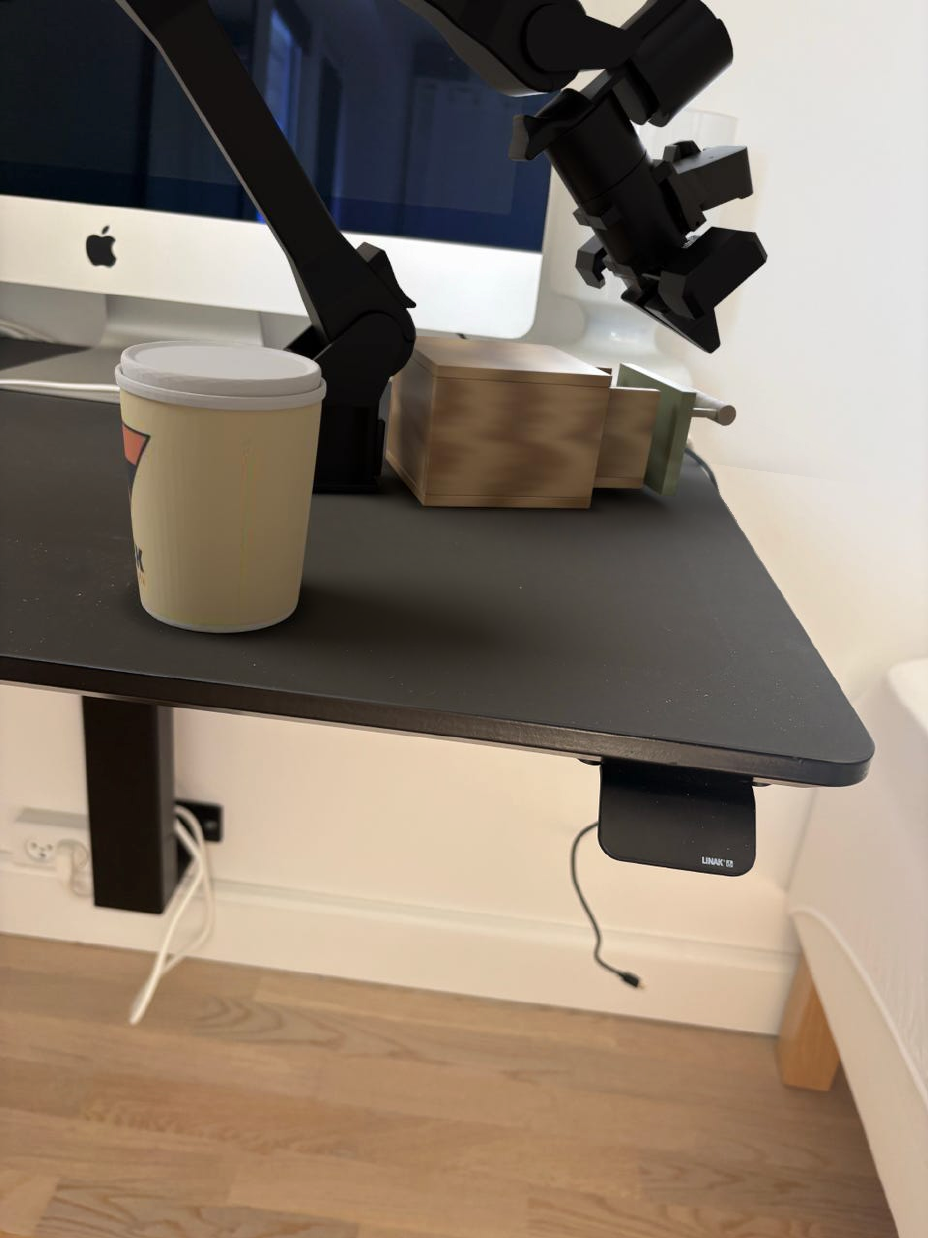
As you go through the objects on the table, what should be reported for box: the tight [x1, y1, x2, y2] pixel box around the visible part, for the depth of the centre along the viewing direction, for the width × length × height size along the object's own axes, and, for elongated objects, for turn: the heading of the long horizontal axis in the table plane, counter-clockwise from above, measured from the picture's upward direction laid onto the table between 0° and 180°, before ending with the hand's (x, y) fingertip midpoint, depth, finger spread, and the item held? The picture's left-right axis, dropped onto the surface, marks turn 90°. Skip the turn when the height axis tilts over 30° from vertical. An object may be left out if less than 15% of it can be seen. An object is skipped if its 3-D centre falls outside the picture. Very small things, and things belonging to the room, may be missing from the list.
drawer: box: [590, 362, 737, 497], centre depth 75 cm, size 16×10×8 cm, turn 107°
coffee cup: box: [114, 340, 326, 634], centre depth 46 cm, size 9×9×12 cm
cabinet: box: [385, 335, 613, 509], centre depth 71 cm, size 13×12×10 cm
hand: (713, 349), depth 74 cm, fingers closed
